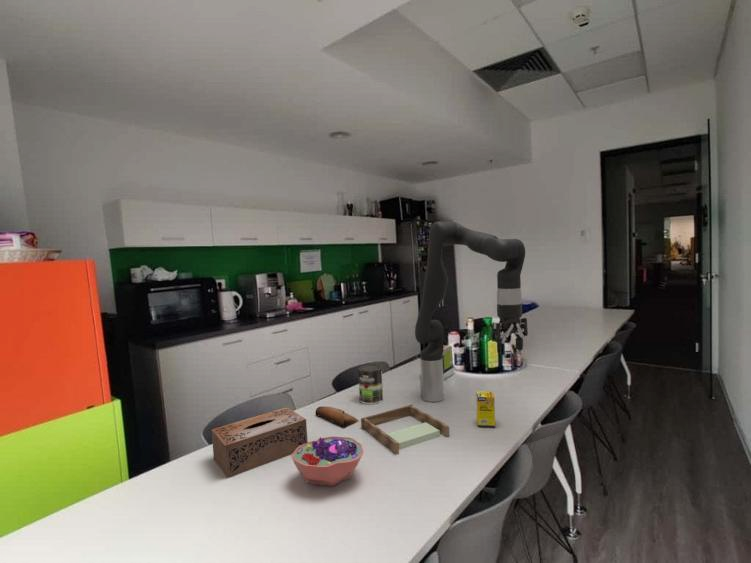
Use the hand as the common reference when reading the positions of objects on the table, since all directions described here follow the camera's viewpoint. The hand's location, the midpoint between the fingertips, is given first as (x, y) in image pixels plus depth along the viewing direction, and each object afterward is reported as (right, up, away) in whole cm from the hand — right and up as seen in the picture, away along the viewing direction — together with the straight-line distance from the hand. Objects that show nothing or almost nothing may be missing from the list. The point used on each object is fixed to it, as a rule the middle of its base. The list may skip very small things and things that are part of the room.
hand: (510, 352), depth 127 cm
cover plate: (-31, -30, +6) cm, 43 cm away
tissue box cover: (-80, -33, +1) cm, 87 cm away
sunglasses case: (-58, -31, +25) cm, 70 cm away
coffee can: (-45, -28, +42) cm, 68 cm away
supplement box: (-4, -28, +13) cm, 32 cm away
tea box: (-12, -25, +68) cm, 74 cm away
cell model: (-56, -33, -16) cm, 67 cm away
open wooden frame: (-33, -30, +10) cm, 46 cm away
